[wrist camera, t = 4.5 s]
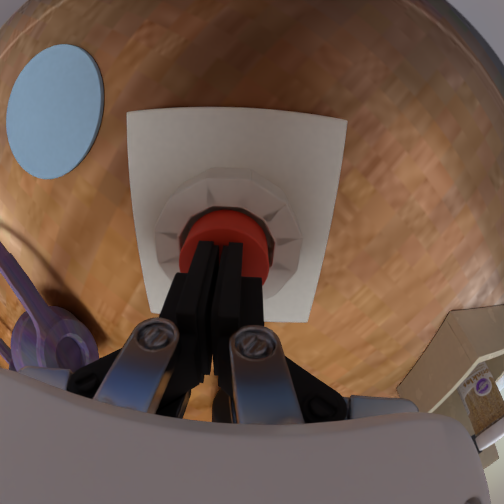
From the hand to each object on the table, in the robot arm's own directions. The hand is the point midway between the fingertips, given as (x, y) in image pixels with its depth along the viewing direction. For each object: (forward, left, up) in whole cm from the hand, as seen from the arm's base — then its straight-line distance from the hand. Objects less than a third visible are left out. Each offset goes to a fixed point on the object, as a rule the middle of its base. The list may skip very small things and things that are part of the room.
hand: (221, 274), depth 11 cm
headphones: (+10, -22, -6) cm, 25 cm away
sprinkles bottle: (+14, +26, -6) cm, 30 cm away
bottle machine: (+14, +26, -6) cm, 30 cm away
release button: (0, 0, -2) cm, 2 cm away
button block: (0, 0, -6) cm, 6 cm away
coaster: (-7, -12, -6) cm, 15 cm away
